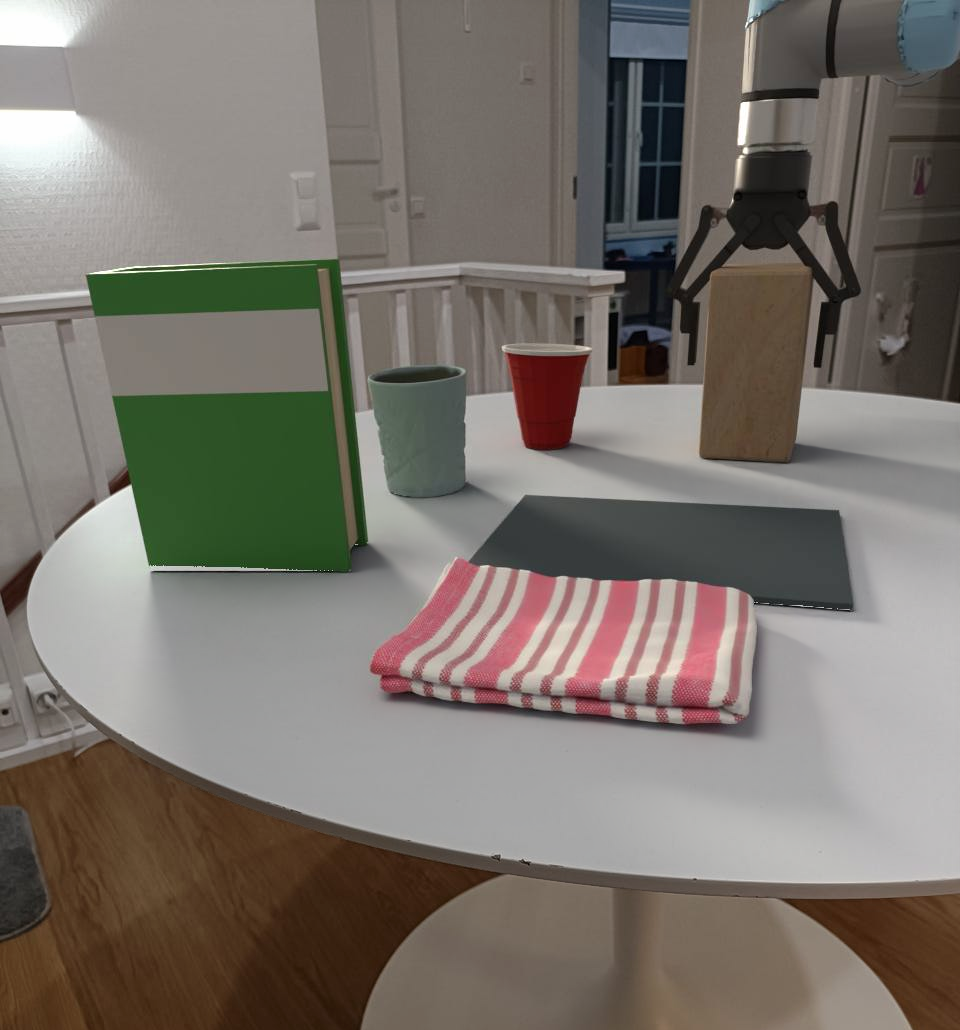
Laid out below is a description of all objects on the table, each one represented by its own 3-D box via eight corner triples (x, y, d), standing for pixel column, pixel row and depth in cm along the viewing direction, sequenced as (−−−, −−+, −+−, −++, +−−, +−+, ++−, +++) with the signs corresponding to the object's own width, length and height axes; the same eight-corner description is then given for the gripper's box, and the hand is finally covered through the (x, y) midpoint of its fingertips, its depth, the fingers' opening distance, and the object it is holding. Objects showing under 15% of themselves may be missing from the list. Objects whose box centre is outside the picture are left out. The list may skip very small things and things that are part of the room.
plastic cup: (609, 442, 113) (612, 341, 107) (548, 460, 106) (548, 353, 101) (547, 429, 120) (546, 334, 115) (486, 445, 114) (482, 346, 108)
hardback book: (368, 541, 83) (339, 258, 73) (348, 572, 77) (313, 265, 66) (184, 542, 85) (130, 267, 75) (150, 571, 79) (85, 274, 68)
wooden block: (711, 438, 112) (723, 263, 104) (796, 442, 109) (816, 262, 100) (697, 458, 104) (709, 271, 95) (789, 463, 101) (810, 269, 92)
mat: (838, 516, 84) (839, 509, 84) (852, 611, 65) (853, 604, 65) (525, 500, 93) (525, 494, 92) (457, 580, 74) (457, 574, 74)
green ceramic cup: (489, 480, 100) (485, 367, 94) (434, 505, 92) (426, 385, 87) (416, 469, 105) (408, 362, 100) (358, 492, 98) (346, 378, 92)
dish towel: (447, 594, 71) (445, 552, 70) (756, 615, 65) (760, 570, 64) (366, 700, 57) (361, 650, 55) (754, 740, 51) (760, 685, 49)
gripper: (902, 145, 93) (869, 360, 102) (655, 156, 100) (646, 357, 109) (910, 143, 86) (875, 372, 96) (646, 155, 93) (637, 368, 103)
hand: (753, 364), depth 102 cm, fingers open, 13 cm apart
